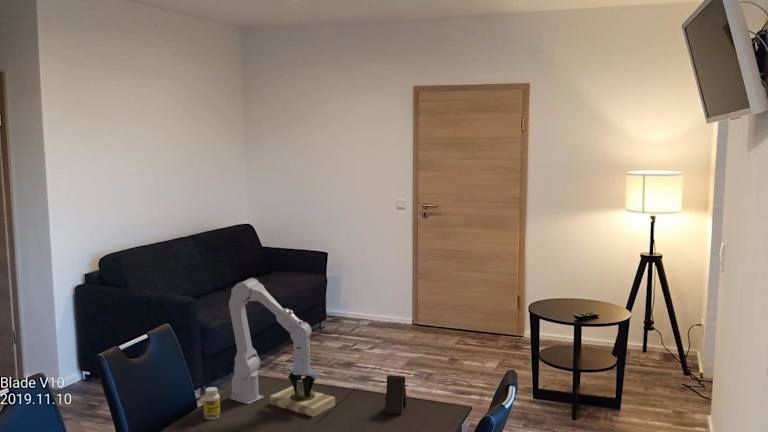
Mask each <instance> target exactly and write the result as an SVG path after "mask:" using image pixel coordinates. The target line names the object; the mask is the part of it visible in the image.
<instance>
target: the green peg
mask: <svg viewBox="0 0 768 432" xmlns="http://www.w3.org/2000/svg"><path fill="white" fill-rule="evenodd" d="M307 398H308V397H305V395H304V386H303V382H302V379H301V380H298V381H297V399H307Z"/></svg>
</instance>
